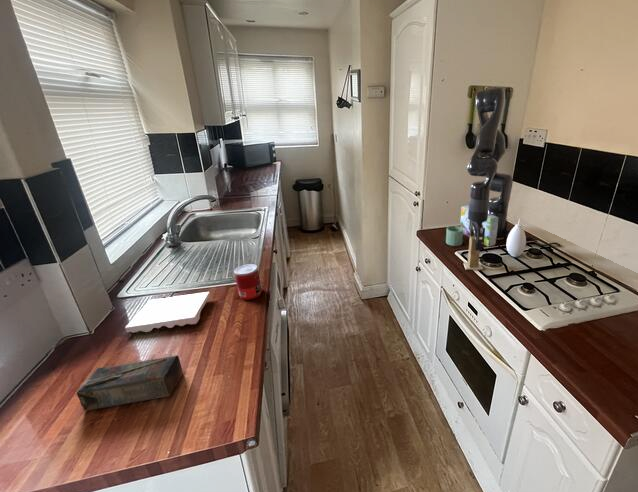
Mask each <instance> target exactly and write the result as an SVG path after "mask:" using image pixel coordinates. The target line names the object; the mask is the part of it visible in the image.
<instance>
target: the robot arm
mask: <svg viewBox="0 0 638 492" xmlns="http://www.w3.org/2000/svg"><path fill="white" fill-rule="evenodd" d="M505 105H506V91H505V89H504V87H502V86H496V87H490V88H484V89H480V90H477V91H476V94H475V107H476V113H477V117H478V121H479V125H480V129H479V131H478V133H477V136H476V140H475V148H474V151H473V153H472V155H471V157H470V159H469V161H468V164H467V169H466V170H467V173H468V175H469V176H471V177H484V178H485V179H484V180H479V181H474V182H472V183H471V184H470V185H471V186H470V192H469V193H470V196H469V201H468V205H469V209H468V219H469V220H470V223H469V230H470V236H475V241H476V242H475V250H480V251H481V250H482V242H484V235H485V228H483V225H482V223H483V222H485V221H487V219H488V213H489V214H491V215H494V216H496V217H498V227H497V236H496V241H501V240H507V236H508V235H509V233H510V231H511V230H512V229H510V228H509V226H508V223H509V222H508V220H507V218H508V212H509V211H508V210H509V204H510V199H511V193H512V189H513V183H514V181H513V179H514V178H513V176H512V175H511V174H508V173H501V172H498V171H497V170H498V167H499V166H498V165H499V163H500V161H501V160H502V158H503V157H504V155H505V153H506V140H505V139H506V138H505V136H504V134H503V132H502V131H501V130H500V129H499V126H500V123H501V120H502V116H503V113H504V109H505ZM489 113H492V114H491V115H490V116H489ZM490 192H496V193H500V194H499V196H494V197H491V198H490ZM476 233H477V234H476ZM479 237H480V239H479ZM526 240H533V241H534V243H535V244H536V245H537V246H540V247H548V246H553V245H556V246H558V247H562V245H561V244H560V243H559V242H549V243H545V244H544V243H539V242H538V241H537V239H536V238H534V237H531V236H526ZM558 243H559V244H558Z"/></svg>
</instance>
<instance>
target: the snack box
mask: <svg viewBox="0 0 638 492" xmlns="http://www.w3.org/2000/svg"><path fill="white" fill-rule="evenodd" d="M468 209H469V204H468V205H463V206H461V208H460V221H459V223H460V224H459V227H462V228H463V229H464V231H463V235H464V236H466V237H468V238H470V230H469V223H470V220H469V219H468ZM482 225H483V228H485V235H484V242H482V243H481V245H483V246H485V247H488V248H489V247H493V246H496V244H497V240H496V236H497V227H498V217H496V216H494V215H491V214H489V213H488V219H487V221H485V222H483V223H482ZM476 234H477V233H476Z"/></svg>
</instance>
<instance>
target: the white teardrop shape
mask: <svg viewBox="0 0 638 492" xmlns="http://www.w3.org/2000/svg"><path fill="white" fill-rule="evenodd" d="M520 221H521V219H520V218H519V219H518V223H516V224H515V225H514V226H513V227H512V228H511V229H510V230H511V231H510V233H509V235H507V237H506V250H507V253H508V254H509V255H510V257H513V258H517V257H518V258H519V256H521V255H523V253H524V251H525V249H526V245H527V239H526V238H527V236H526V232H525V230H524V228H523V225H522V224H521V223H520Z"/></svg>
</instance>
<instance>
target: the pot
mask: <svg viewBox="0 0 638 492" xmlns="http://www.w3.org/2000/svg"><path fill="white" fill-rule="evenodd" d="M445 230H446V233H445V243H446V244H447V245H448V246H451V247H459V246H461V245H463V243H464V242H463V241H464V234H463V231H464V229H463V228H462V227H460V225H449V226H447V227H446V228H445Z"/></svg>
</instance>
